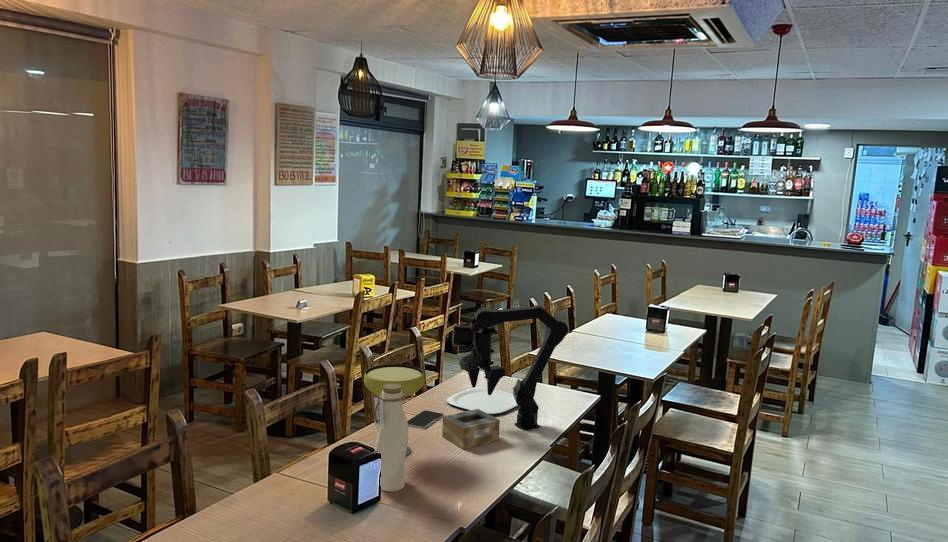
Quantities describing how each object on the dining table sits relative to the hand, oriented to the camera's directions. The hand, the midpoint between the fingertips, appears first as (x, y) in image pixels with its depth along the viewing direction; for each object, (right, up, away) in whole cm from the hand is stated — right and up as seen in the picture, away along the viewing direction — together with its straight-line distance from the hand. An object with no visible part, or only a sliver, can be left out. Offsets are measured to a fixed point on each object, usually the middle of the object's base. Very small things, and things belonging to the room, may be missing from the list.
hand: (481, 391), depth 227 cm
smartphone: (-20, -12, +6) cm, 24 cm away
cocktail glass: (-27, -15, -21) cm, 37 cm away
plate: (+2, -10, +26) cm, 28 cm away
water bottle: (-26, -18, -44) cm, 54 cm away
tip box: (-4, -14, -9) cm, 17 cm away
